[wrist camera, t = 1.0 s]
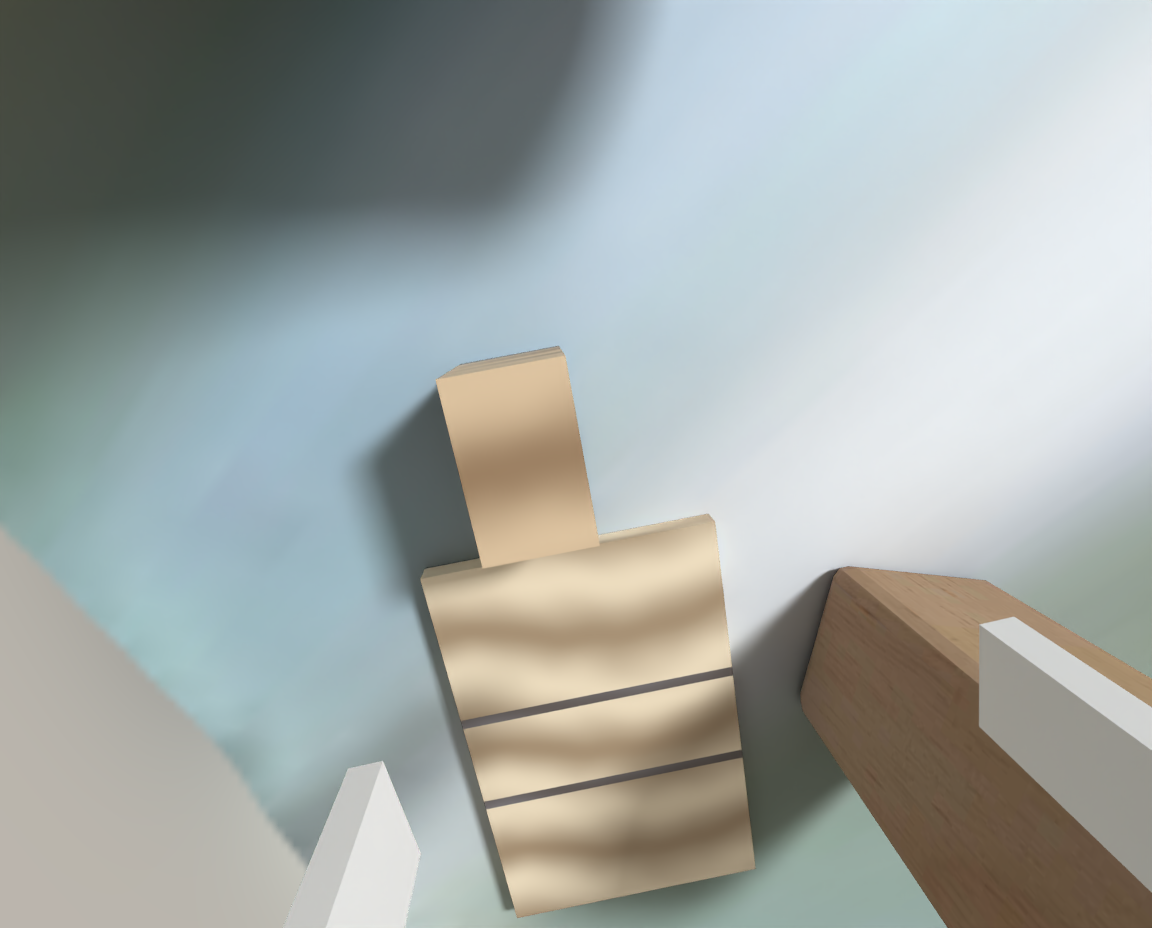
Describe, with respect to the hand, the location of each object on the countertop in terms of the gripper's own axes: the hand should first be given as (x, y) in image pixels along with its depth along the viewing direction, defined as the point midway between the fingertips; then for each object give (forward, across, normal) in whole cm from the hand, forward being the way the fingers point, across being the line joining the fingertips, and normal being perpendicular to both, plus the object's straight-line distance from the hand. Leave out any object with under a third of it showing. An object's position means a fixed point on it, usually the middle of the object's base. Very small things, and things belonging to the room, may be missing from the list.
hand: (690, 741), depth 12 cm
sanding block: (+18, -3, +4) cm, 19 cm away
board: (+18, -3, -16) cm, 24 cm away
